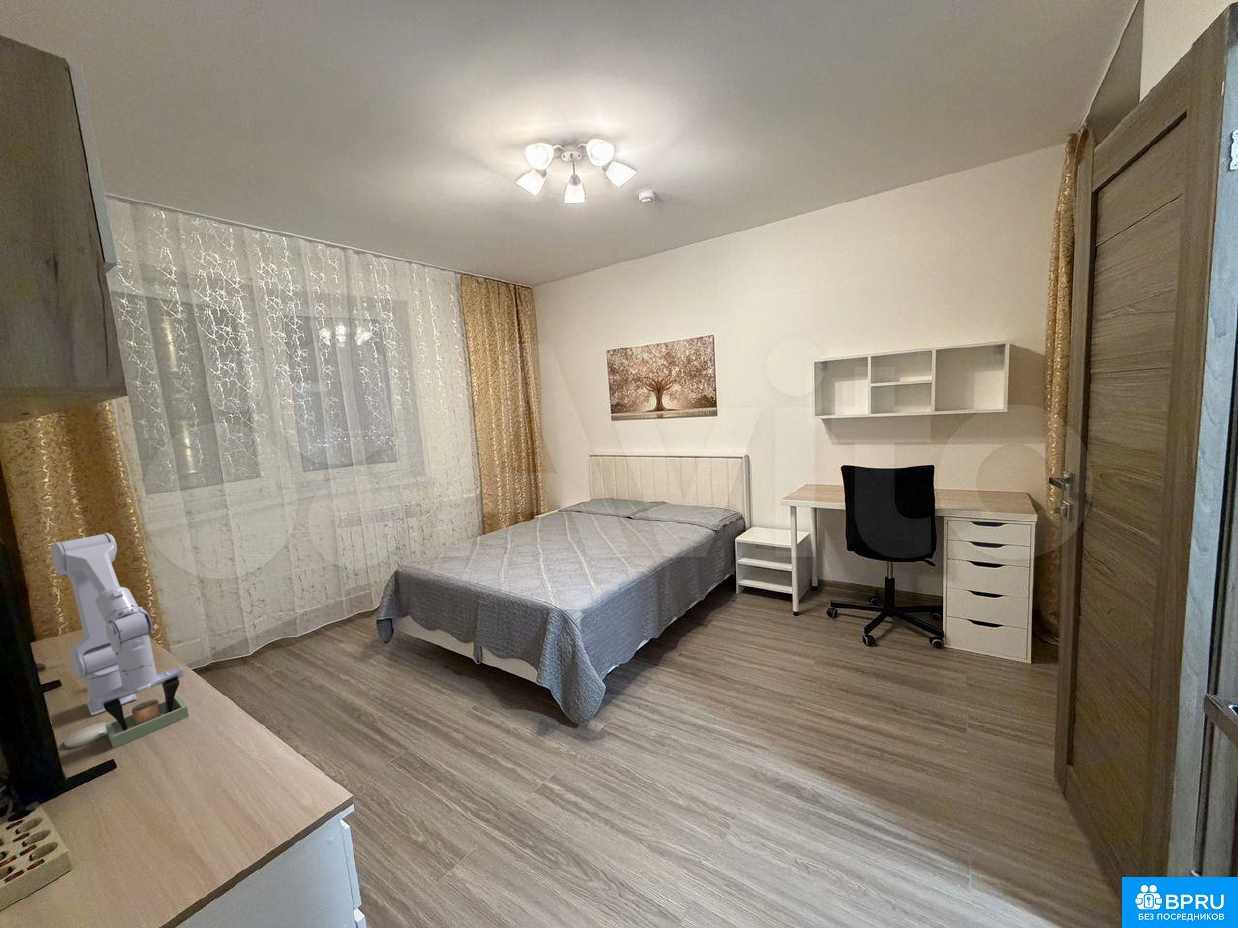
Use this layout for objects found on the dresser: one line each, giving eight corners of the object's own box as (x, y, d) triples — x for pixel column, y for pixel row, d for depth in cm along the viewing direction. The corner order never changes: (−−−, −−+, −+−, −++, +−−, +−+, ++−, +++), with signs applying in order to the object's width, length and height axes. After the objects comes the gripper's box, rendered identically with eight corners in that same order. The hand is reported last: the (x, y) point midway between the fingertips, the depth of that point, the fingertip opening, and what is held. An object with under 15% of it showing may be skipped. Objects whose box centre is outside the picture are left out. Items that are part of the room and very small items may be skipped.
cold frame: (107, 734, 109) (105, 724, 109) (180, 704, 119) (178, 695, 119) (113, 748, 104) (111, 737, 104) (188, 716, 114) (187, 706, 114)
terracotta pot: (134, 727, 111) (129, 707, 111) (159, 716, 115) (155, 697, 114) (137, 733, 108) (133, 713, 108) (163, 723, 112) (159, 703, 111)
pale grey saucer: (63, 740, 108) (62, 736, 108) (108, 722, 113) (107, 718, 113) (66, 752, 104) (65, 747, 104) (112, 733, 109) (112, 729, 109)
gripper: (92, 686, 102) (105, 744, 103) (182, 655, 113) (192, 708, 115) (88, 676, 106) (100, 732, 107) (175, 647, 117) (185, 698, 119)
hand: (147, 719), depth 111 cm, fingers open, 7 cm apart
